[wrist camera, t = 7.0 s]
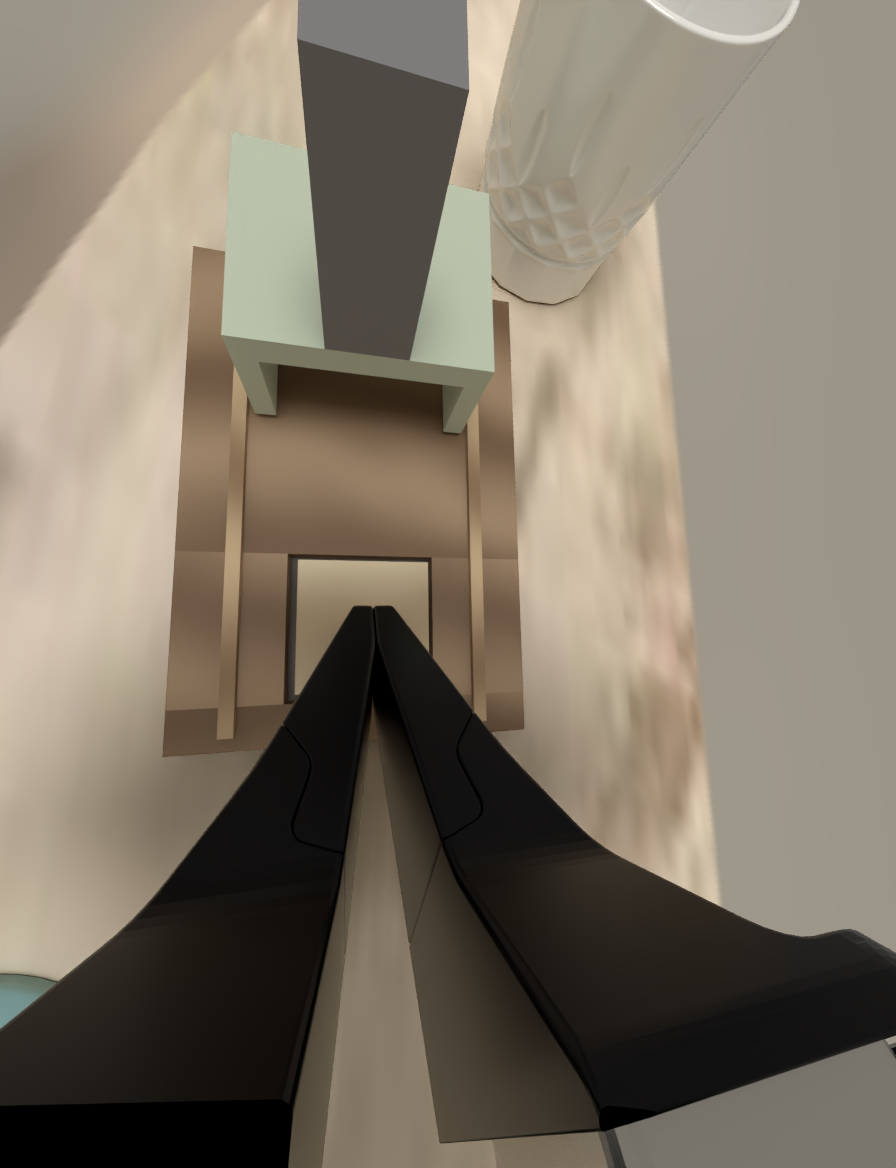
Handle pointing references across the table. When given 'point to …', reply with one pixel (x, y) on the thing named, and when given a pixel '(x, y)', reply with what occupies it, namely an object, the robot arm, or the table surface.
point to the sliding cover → (364, 214)
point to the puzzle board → (331, 528)
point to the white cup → (605, 123)
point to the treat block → (353, 602)
